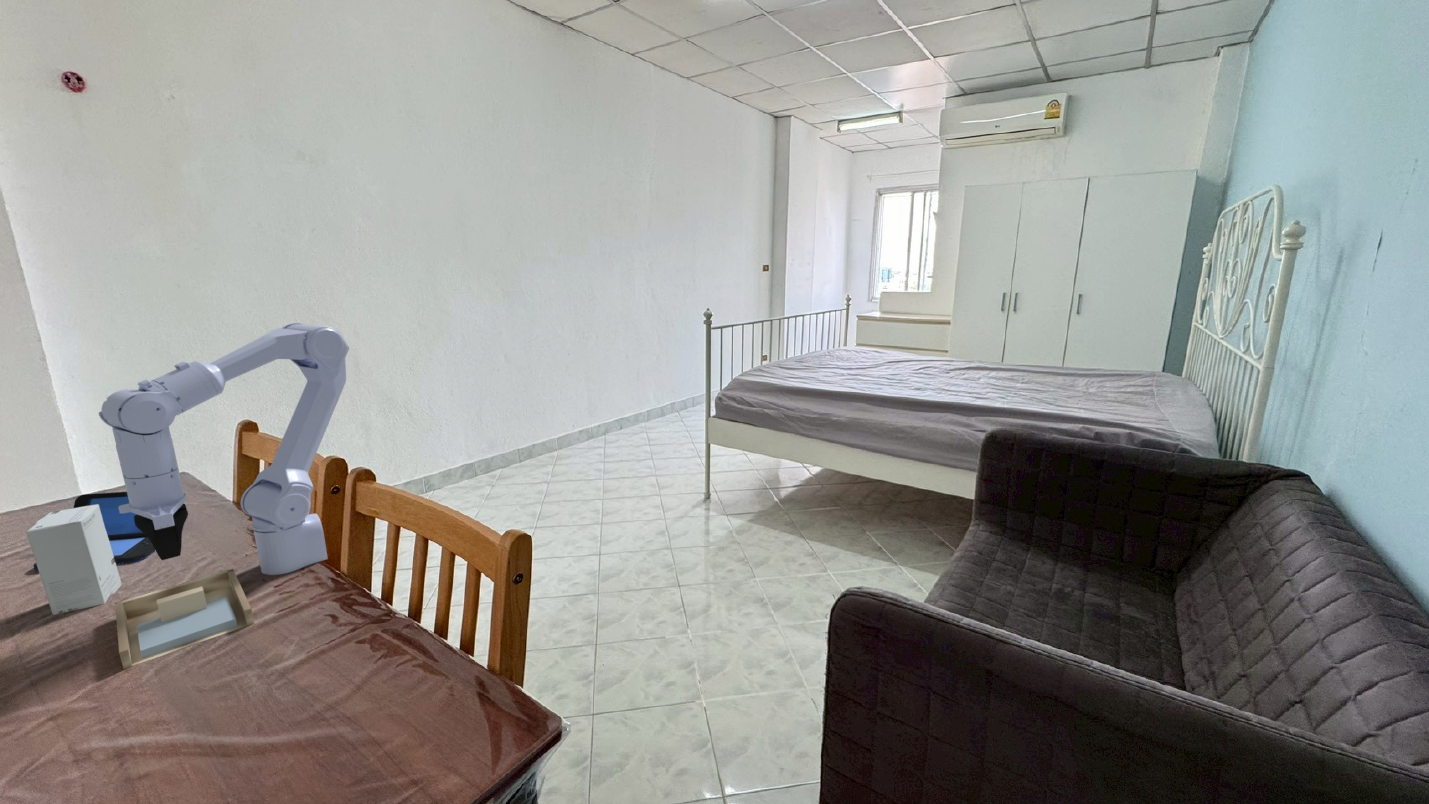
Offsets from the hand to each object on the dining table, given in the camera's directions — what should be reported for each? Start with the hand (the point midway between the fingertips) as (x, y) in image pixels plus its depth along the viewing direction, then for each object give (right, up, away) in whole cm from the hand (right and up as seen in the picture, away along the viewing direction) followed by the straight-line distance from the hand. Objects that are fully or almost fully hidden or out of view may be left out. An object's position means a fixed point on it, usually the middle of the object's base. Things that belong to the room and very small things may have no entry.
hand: (170, 556), depth 85 cm
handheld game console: (-30, -5, +21) cm, 37 cm away
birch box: (+3, -10, -1) cm, 11 cm away
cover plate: (+5, -10, -3) cm, 11 cm away
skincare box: (-18, -9, +5) cm, 20 cm away
